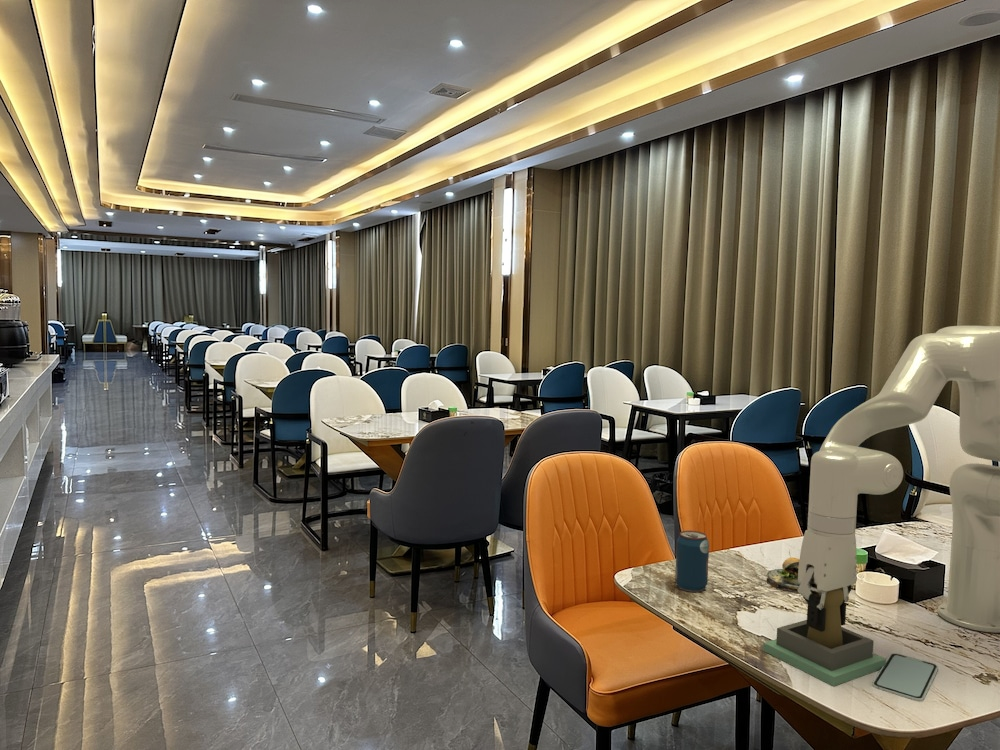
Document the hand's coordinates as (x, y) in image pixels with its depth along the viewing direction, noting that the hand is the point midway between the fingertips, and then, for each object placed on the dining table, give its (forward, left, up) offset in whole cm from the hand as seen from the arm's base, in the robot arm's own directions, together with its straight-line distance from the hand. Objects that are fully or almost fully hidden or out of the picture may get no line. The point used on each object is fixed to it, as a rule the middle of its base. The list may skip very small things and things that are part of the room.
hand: (825, 624), depth 124 cm
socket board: (0, 0, -6) cm, 6 cm away
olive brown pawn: (0, 0, -4) cm, 4 cm away
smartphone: (-7, +11, -7) cm, 14 cm away
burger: (-27, -27, -7) cm, 39 cm away
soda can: (-4, -36, -6) cm, 37 cm away
